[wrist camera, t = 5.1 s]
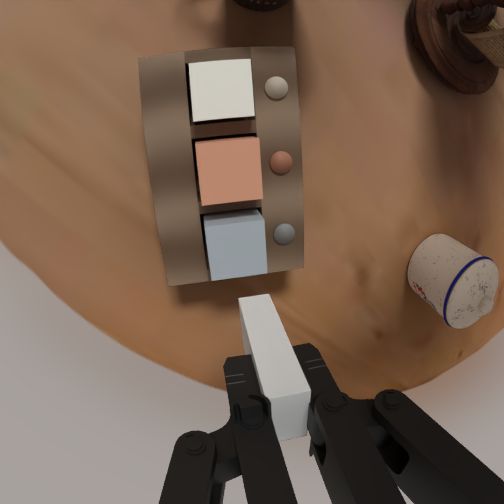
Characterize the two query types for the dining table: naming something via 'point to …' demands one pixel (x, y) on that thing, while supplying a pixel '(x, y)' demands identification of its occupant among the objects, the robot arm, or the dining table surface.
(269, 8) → the coffee mug
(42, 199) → the dining table surface
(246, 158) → the terracotta key
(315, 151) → the dining table surface
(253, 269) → the grey key
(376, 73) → the dining table surface
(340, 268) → the dining table surface
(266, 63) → the key box
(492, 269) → the teacup with lid
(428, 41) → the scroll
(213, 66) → the cream key
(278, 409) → the robot arm
